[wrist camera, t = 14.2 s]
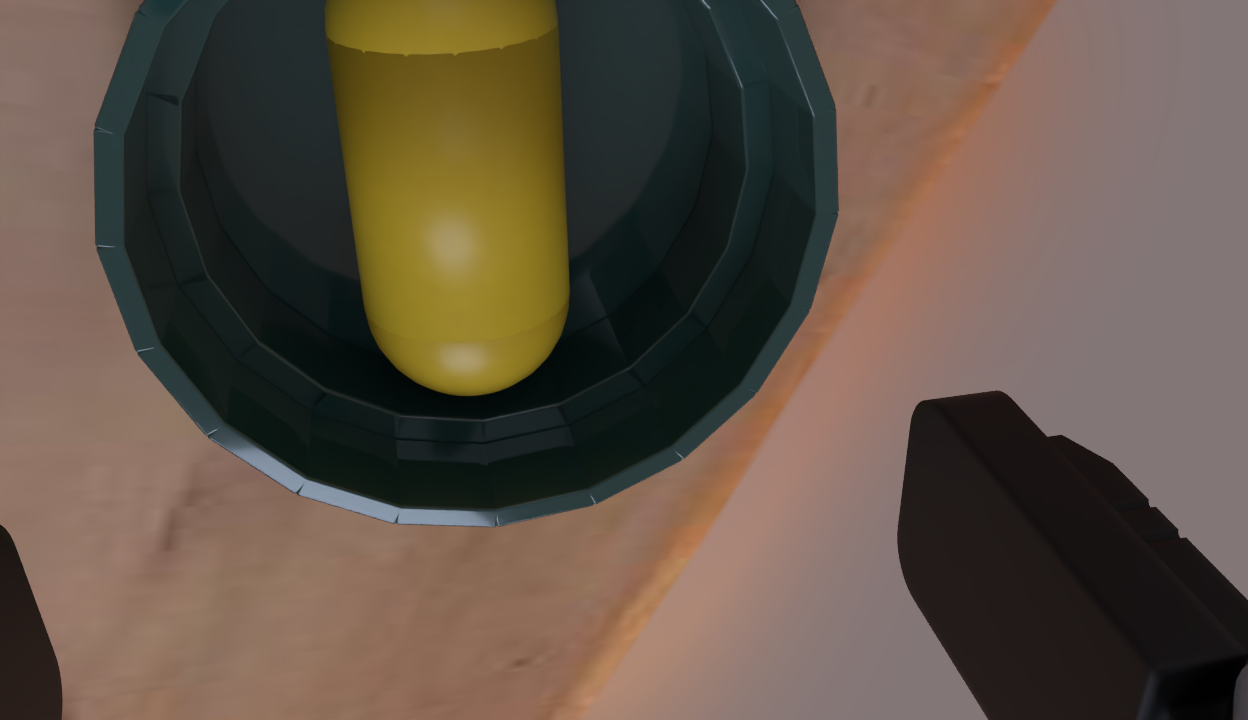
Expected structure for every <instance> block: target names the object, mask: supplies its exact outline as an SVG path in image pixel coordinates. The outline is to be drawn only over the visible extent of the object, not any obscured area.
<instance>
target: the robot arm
mask: <svg viewBox="0 0 1248 720" xmlns="http://www.w3.org/2000/svg"><path fill="white" fill-rule="evenodd" d="M907 449H908V450H907V457H906V465H905V473H904V481H903V489H902V498H901V506H900V514H899V522H898V523H899V524H898V533H897V536H898V537H897V538H898V541H897V543H898V553H899V559H900V564H901V568H902V572H903V576H904V579H905V582H906V584H907V587H908V589H909V591H910V593H911V595H912V597H913V599H914V601H915V602H916V604H917V605H918V607H919V609H920V610H921V612H922V613H923V615H924V617H925V618H926V620H927V622H928V623H929V625H930V626H931V628H932V630H933V631H934V633H935V634H936V636H937V638H938V639H939V641H940V642H941V644H942V646H943V647H944V649H945V651H946V652H947V653H948V655H949V657H950V659H951V660H952V662H953V663H954V665H955V667H956V668H957V670H958V672H959V673H960V675H961V676H962V678H963V680H964V681H965V683H966V684H967V686H968V687H969V689H970V691H971V692H972V694H973V695H974V697H975V699H976V700H977V702H978V704H979V705H980V707H981V709H982V710H983V712H984V713H985V715H986V717H987V718H988V720H1248V600H1247V599H1246V598H1245V597H1244V596H1243V595H1242V594H1241V593H1240V592H1239V591H1238V590H1237V589H1236V588H1235V587H1234V586H1233V585H1232V584H1231V583H1230V582H1229V581H1228V580H1227V579H1226V578H1225V577H1224V576H1223V575H1222V574H1221V573H1220V572H1219V571H1218V569H1216V567H1215V566H1214V565H1213V564H1212V563H1211V562H1210V561H1209V560H1208V559H1207V558H1206V557H1205V556H1204V555H1203V554H1202V553H1201V552H1200V551H1199V550H1198V549H1197V548H1196V547H1195V546H1194V545H1193V544H1192V543H1191V542H1190V541H1189V540H1188V539H1187V538H1180V537H1179V534H1178V529H1177V528H1176V527H1175V526H1174V525H1173V524H1172V523H1171V522H1170V521H1169V520H1168V519H1167V518H1166V517H1165V516H1164V515H1163V514H1162V513H1161V512H1160V511H1159V510H1158V509H1157V508H1156V507H1150V506H1149V503H1148V498H1147V497H1145V495H1144V494H1143V493H1142V492H1140V490H1139V489H1138V488H1137V487H1136V486H1135V485H1134V484H1133V483H1132V482H1131V481H1130V480H1129V479H1128V478H1127V477H1126V476H1125V475H1124V474H1123V473H1122V472H1121V471H1120V470H1119V469H1118V468H1117V467H1116V466H1115V465H1114V464H1113V463H1111V462H1110V461H1108V460H1106V459H1104V458H1102V457H1101V456H1099V455H1097V454H1095V453H1093V452H1092V451H1090V450H1088V449H1086V448H1084V447H1083V446H1081V445H1079V444H1077V443H1075V442H1073V441H1072V440H1070V439H1068V438H1066V437H1065V436H1063V435H1057V436H1050V437H1047V436H1046V435H1045V434H1044V433H1043V432H1042V431H1041V430H1040V429H1039V428H1038V427H1037V425H1036V424H1035V423H1034V422H1033V421H1032V420H1031V419H1030V418H1029V417H1028V416H1027V415H1026V414H1025V413H1024V412H1023V410H1022V409H1020V407H1019V406H1018V405H1017V404H1016V403H1015V402H1014V401H1013V400H1012V399H1011V398H1010V397H1009V396H1008V395H1007V394H1005V393H1003V392H1002V391H990V392H982V393H975V394H968V395H960V396H953V397H945V398H939V399H931V400H924V401H921V402H920V403H919V404H918V405H917V406H916V408H915V410H914V412H913V415H912V418H911V425H910V432H909V440H908V448H907ZM0 720H62V685H61V677H60V671H59V666H58V662H57V659H56V656H55V653H54V650H53V647H52V644H51V642H50V639H49V636H48V634H47V631H46V628H45V625H44V623H43V620H42V617H41V614H40V612H39V609H38V606H37V604H36V601H35V598H34V595H33V593H32V590H31V587H30V585H29V582H28V579H27V576H26V574H25V571H24V568H23V565H22V563H21V560H20V557H19V555H18V552H17V549H16V547H15V544H14V542H13V539H12V538H11V536H10V534H9V533H8V531H7V530H6V529H5V528H4V527H3V526H2V525H0Z"/></svg>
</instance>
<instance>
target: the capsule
mask: <svg viewBox="0 0 1248 720" xmlns="http://www.w3.org/2000/svg"><path fill="white" fill-rule="evenodd" d="M324 14H325V33H326V41H327V48H328V55H329V62H330V69H331V76H332V83H333V90H334V97H335V105H336V112H337V119H338V126H339V133H340V140H341V147H342V154H343V161H344V168H345V176H346V183H347V190H348V197H349V204H350V211H351V218H352V225H353V232H354V240H355V247H356V254H357V261H358V268H359V275H360V282H361V289H362V296H363V303H364V309H365V313H366V317H367V320H368V324H369V327H370V330H371V333H372V335H373V337H374V339H375V341H376V343H377V345H378V347H379V348H380V350H381V351H382V352H383V353H384V354H385V356H386V357H387V358H388V359H389V360H390V362H391V363H392V364H393V365H394V366H395V367H396V369H398V370H399V371H400V372H402V373H403V374H405V375H406V376H407V377H409V378H410V379H412V380H413V381H414V382H416V383H417V384H419V385H422V386H424V387H426V388H429V389H432V390H435V391H437V392H441V393H445V394H449V395H456V396H477V395H485V394H490V393H494V392H498V391H501V390H504V389H506V388H508V387H511V386H512V385H514V384H516V383H518V382H519V381H521V380H523V379H524V378H526V377H527V376H529V375H531V374H532V373H533V372H534V371H535V370H536V369H537V368H538V367H539V366H540V365H541V364H542V363H543V362H544V361H545V360H546V359H547V358H548V356H549V355H550V353H551V352H552V350H553V349H554V347H555V345H556V343H557V342H558V340H559V338H560V336H561V335H562V331H563V328H564V325H565V321H566V318H567V314H568V309H569V296H570V284H569V260H568V237H567V214H566V190H565V167H564V143H563V120H562V97H561V73H560V50H559V26H558V16H557V9H556V2H555V0H326V2H325V8H324Z"/></svg>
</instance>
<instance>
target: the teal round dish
mask: <svg viewBox="0 0 1248 720" xmlns="http://www.w3.org/2000/svg"><path fill="white" fill-rule="evenodd" d="M325 2H326V0H143V1H142V3H141V4H140V6H139V8H138V10H137V11H136V13H135V15H134V18H133V21H132V24H131V26H130V29H129V32H128V35H127V37H126V40H125V43H124V46H123V48H122V51H121V54H120V56H119V59H118V62H117V65H116V67H115V70H114V73H113V76H112V78H111V81H110V84H109V87H108V89H107V92H106V95H105V97H104V100H103V103H102V106H101V108H100V111H99V114H98V117H97V119H96V122H95V129H94V195H95V244H96V246H97V249H96V250H97V252H98V255H99V258H100V260H101V263H102V265H103V268H104V271H105V273H106V276H107V278H108V281H109V284H110V286H111V289H112V291H113V294H114V297H115V299H116V302H117V304H118V307H119V310H120V312H121V315H122V317H123V320H124V323H125V325H126V328H127V330H128V333H129V336H130V338H131V341H132V343H133V346H134V349H135V351H136V352H138V356H139V357H140V358H141V359H142V360H143V362H144V363H145V364H146V365H147V366H148V368H149V369H150V370H151V371H152V372H153V374H154V375H155V376H156V377H157V378H158V379H159V381H160V382H161V383H162V384H163V385H164V387H165V388H166V389H167V390H168V391H169V393H170V394H171V395H172V396H173V397H174V399H175V400H176V401H177V402H178V403H179V405H180V406H181V407H182V408H183V409H184V411H185V412H186V413H187V414H188V415H189V417H190V418H191V419H192V420H193V421H194V422H195V424H196V425H197V426H198V427H199V428H200V430H201V431H202V432H203V433H204V434H205V435H206V436H208V438H209V439H211V440H212V441H214V442H215V443H217V444H218V445H220V446H221V447H223V448H225V449H226V450H228V451H229V452H231V453H232V454H234V455H235V456H237V457H239V458H240V459H242V460H243V461H245V462H246V463H248V464H249V465H251V466H253V467H254V468H256V469H257V470H259V471H260V472H262V473H263V474H265V475H267V476H268V477H270V478H271V479H273V480H274V481H276V482H277V483H279V484H281V485H282V486H284V487H285V488H287V489H288V490H290V491H291V492H293V493H297V495H299V496H303V497H306V498H309V499H313V500H316V501H319V502H323V503H326V504H329V505H333V506H336V507H339V508H343V509H346V510H349V511H353V512H356V513H359V514H363V515H366V516H369V517H373V518H376V519H379V520H383V521H386V522H389V523H393V524H394V523H395V522H396V524H406V525H439V526H472V527H496V525H497V526H498V527H500V526H504V525H509V524H513V523H518V522H522V521H527V520H531V519H536V518H540V517H544V516H549V515H553V514H558V513H562V512H567V511H571V510H575V509H580V508H584V507H589V506H592V505H594V504H598V503H600V502H602V501H604V500H606V499H608V498H610V497H611V496H613V495H615V494H617V493H619V492H621V491H623V490H625V489H627V488H629V487H631V486H633V485H635V484H637V483H639V482H641V481H643V480H645V479H647V478H649V477H651V476H653V475H655V474H656V473H658V472H660V471H662V470H664V469H666V468H668V467H670V466H672V465H674V464H676V463H678V462H680V461H681V460H682V459H684V458H686V457H687V456H688V455H689V454H690V453H691V452H692V451H693V450H695V449H696V448H697V447H698V446H699V445H700V444H701V443H702V442H704V441H705V440H706V439H707V438H708V437H709V436H710V435H711V434H712V433H714V432H715V431H716V430H717V429H718V428H719V427H720V426H721V425H723V424H724V423H725V422H726V421H727V420H728V419H729V418H730V417H731V416H733V415H734V414H735V413H736V412H737V411H738V410H739V409H740V408H742V407H743V406H744V405H745V404H746V403H747V402H748V401H749V400H750V399H752V398H753V397H754V396H755V393H757V392H758V391H759V389H760V388H761V386H762V385H763V383H764V382H765V380H766V379H767V377H768V375H769V374H770V372H771V371H772V369H773V368H774V366H775V365H776V363H777V361H778V360H779V358H780V357H781V355H782V354H783V352H784V351H785V349H786V347H787V346H788V344H789V343H790V341H791V340H792V338H793V337H794V335H795V333H796V332H797V330H798V329H799V327H800V326H801V324H802V323H803V321H804V319H805V318H806V316H807V315H808V313H809V310H810V309H811V307H812V303H813V300H814V296H815V293H816V289H817V286H818V283H819V279H820V276H821V272H822V269H823V265H824V262H825V259H826V255H827V252H828V248H829V245H830V241H831V238H832V234H833V231H834V228H835V224H836V221H837V217H838V213H837V212H838V211H839V205H838V166H837V127H836V109H835V103H834V100H833V97H832V95H831V92H830V89H829V87H828V84H827V81H826V78H825V76H824V73H823V70H822V67H821V65H820V62H819V59H818V57H817V54H816V51H815V48H814V46H813V43H812V40H811V38H810V35H809V32H808V29H807V27H806V24H805V21H804V19H803V16H802V13H801V10H800V8H799V6H798V5H797V3H796V1H795V0H555V2H556V9H557V16H558V26H559V50H560V73H561V97H562V120H563V143H564V167H565V190H566V214H567V237H568V260H569V284H570V296H569V309H568V314H567V318H566V321H565V325H564V328H563V331H562V335H561V336H560V338H559V340H558V342H557V343H556V345H555V347H554V349H553V350H552V352H551V353H550V355H549V356H548V358H547V359H546V360H545V361H544V362H543V363H542V364H541V365H540V366H539V367H538V368H537V369H536V370H535V371H534V372H533V373H532V374H531V375H529V376H527V377H526V378H524V379H523V380H521V381H519V382H518V383H516V384H514V385H512V386H511V387H508V388H506V389H504V390H501V391H498V392H494V393H490V394H485V395H477V396H456V395H449V394H445V393H441V392H437V391H435V390H432V389H429V388H426V387H424V386H422V385H419V384H417V383H416V382H414V381H413V380H412V379H410V378H409V377H407V376H406V375H405V374H403V373H402V372H400V371H399V370H398V369H396V367H395V366H394V365H393V364H392V363H391V362H390V360H389V359H388V358H387V357H386V356H385V354H384V353H383V352H382V351H381V350H380V348H379V347H378V345H377V343H376V341H375V339H374V337H373V335H372V333H371V330H370V327H369V324H368V320H367V317H366V313H365V309H364V303H363V296H362V289H361V282H360V275H359V268H358V261H357V254H356V247H355V240H354V232H353V225H352V218H351V211H350V204H349V197H348V190H347V183H346V176H345V168H344V161H343V154H342V147H341V140H340V133H339V126H338V119H337V112H336V105H335V97H334V90H333V83H332V76H331V69H330V62H329V55H328V48H327V41H326V33H325V14H324V8H325Z"/></svg>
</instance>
